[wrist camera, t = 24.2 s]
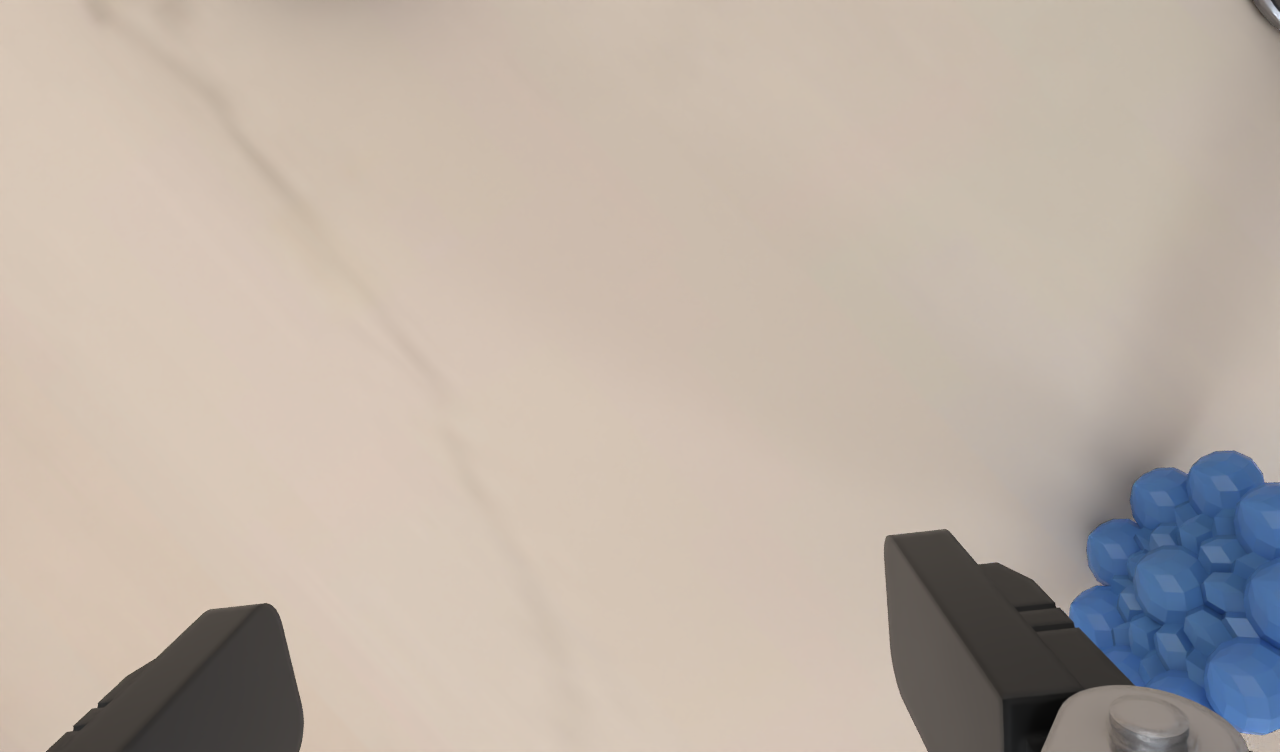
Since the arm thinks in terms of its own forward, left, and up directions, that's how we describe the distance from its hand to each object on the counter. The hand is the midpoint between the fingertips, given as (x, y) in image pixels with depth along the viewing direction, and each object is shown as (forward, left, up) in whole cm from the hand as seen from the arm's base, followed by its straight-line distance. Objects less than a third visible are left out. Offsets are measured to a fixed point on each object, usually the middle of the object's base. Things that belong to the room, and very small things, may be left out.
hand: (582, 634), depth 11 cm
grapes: (-21, +13, -26) cm, 36 cm away
